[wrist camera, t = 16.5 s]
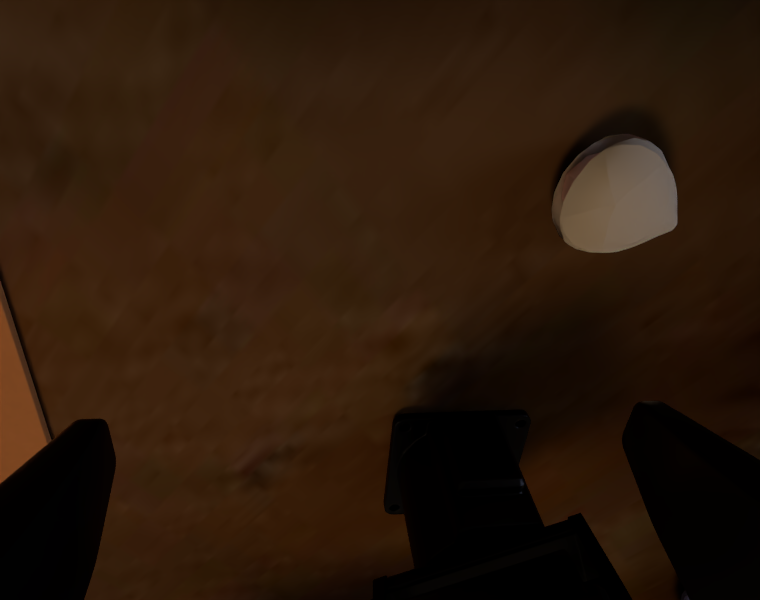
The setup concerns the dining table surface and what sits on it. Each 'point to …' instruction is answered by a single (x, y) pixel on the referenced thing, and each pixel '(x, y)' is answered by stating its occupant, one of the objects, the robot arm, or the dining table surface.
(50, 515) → the robot arm
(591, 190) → the grey rounded piece
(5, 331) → the cloth
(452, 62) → the dining table surface
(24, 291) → the dining table surface
